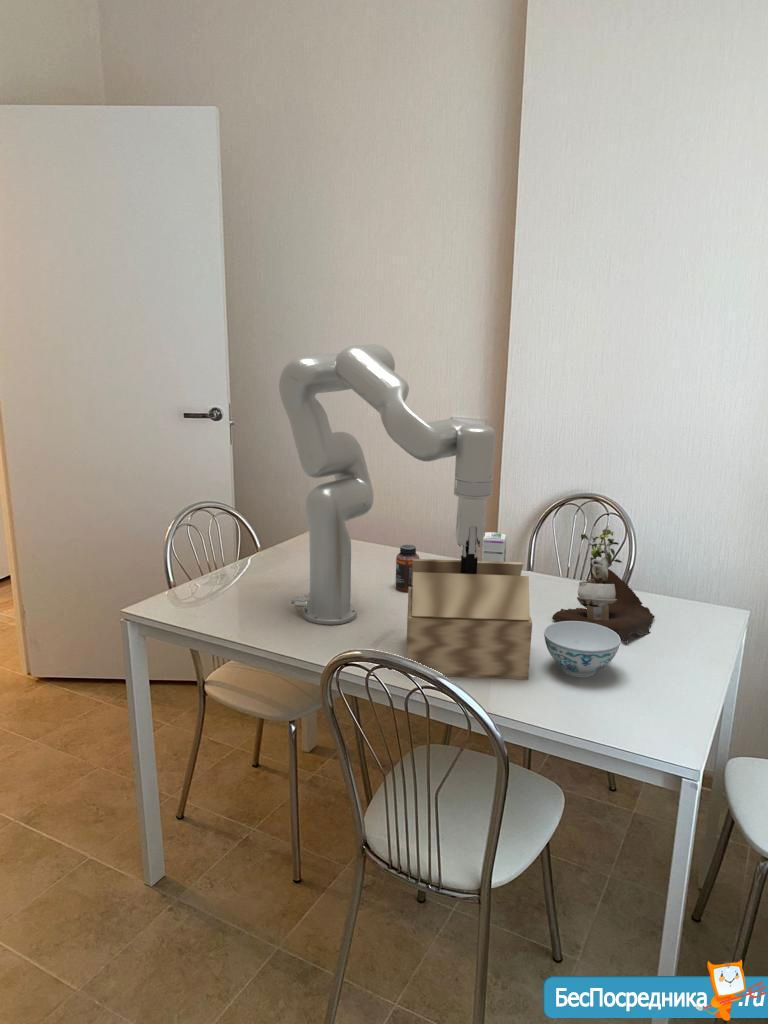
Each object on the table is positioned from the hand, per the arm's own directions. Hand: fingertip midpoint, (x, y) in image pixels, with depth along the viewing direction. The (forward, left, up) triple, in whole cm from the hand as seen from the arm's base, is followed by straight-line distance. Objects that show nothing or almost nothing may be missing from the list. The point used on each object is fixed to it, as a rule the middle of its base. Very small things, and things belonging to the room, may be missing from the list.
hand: (468, 575), depth 168 cm
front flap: (0, -7, -2) cm, 7 cm away
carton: (0, -1, -18) cm, 18 cm away
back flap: (0, +6, -2) cm, 6 cm away
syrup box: (+10, +42, -18) cm, 47 cm away
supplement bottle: (-12, +40, -18) cm, 46 cm away
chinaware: (+23, -5, -18) cm, 30 cm away
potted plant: (+35, +23, -18) cm, 46 cm away
